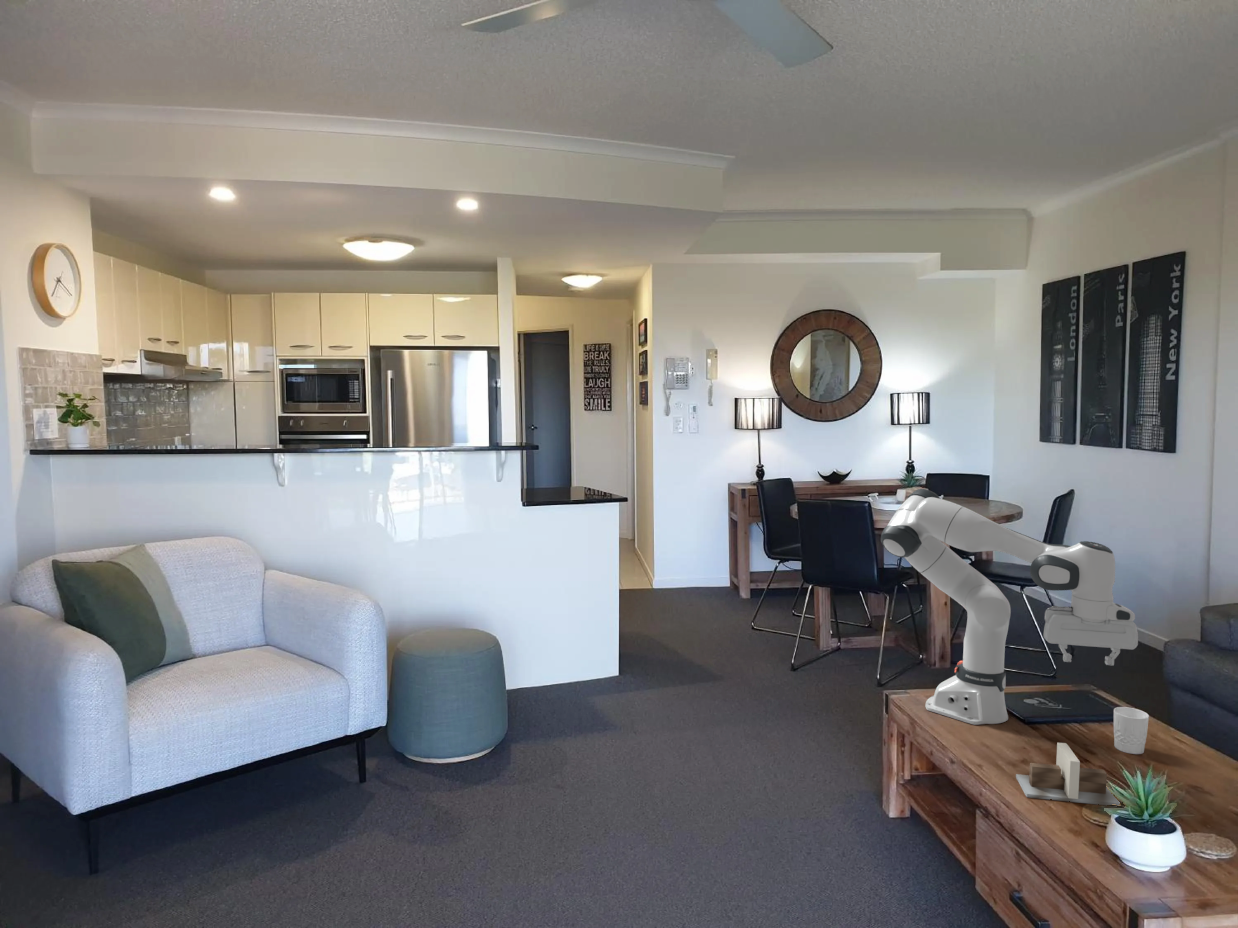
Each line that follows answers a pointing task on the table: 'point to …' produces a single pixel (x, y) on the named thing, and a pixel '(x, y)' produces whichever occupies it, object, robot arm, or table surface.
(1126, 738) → the white cup
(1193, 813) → the table surface
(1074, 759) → the upright cream slab
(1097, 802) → the base plate
